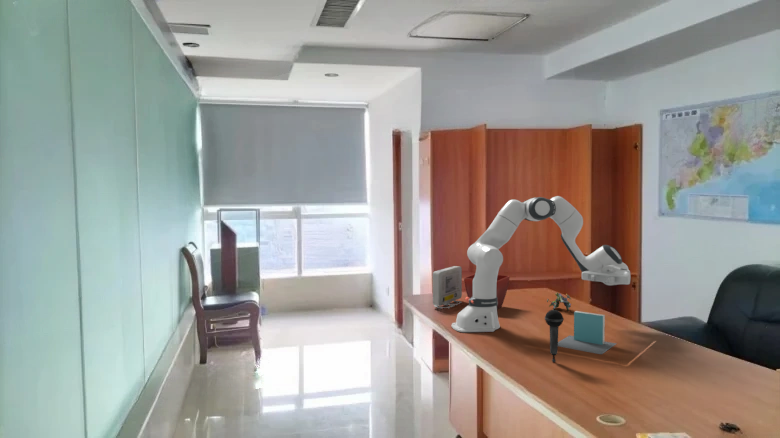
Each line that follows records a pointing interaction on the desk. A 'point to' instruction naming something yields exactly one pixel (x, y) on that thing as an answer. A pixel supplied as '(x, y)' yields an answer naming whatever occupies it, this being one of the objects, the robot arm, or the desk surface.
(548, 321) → the microphone
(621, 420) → the desk surface
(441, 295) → the network device
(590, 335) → the tile
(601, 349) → the mat
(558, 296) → the passion flower
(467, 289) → the plant pot
